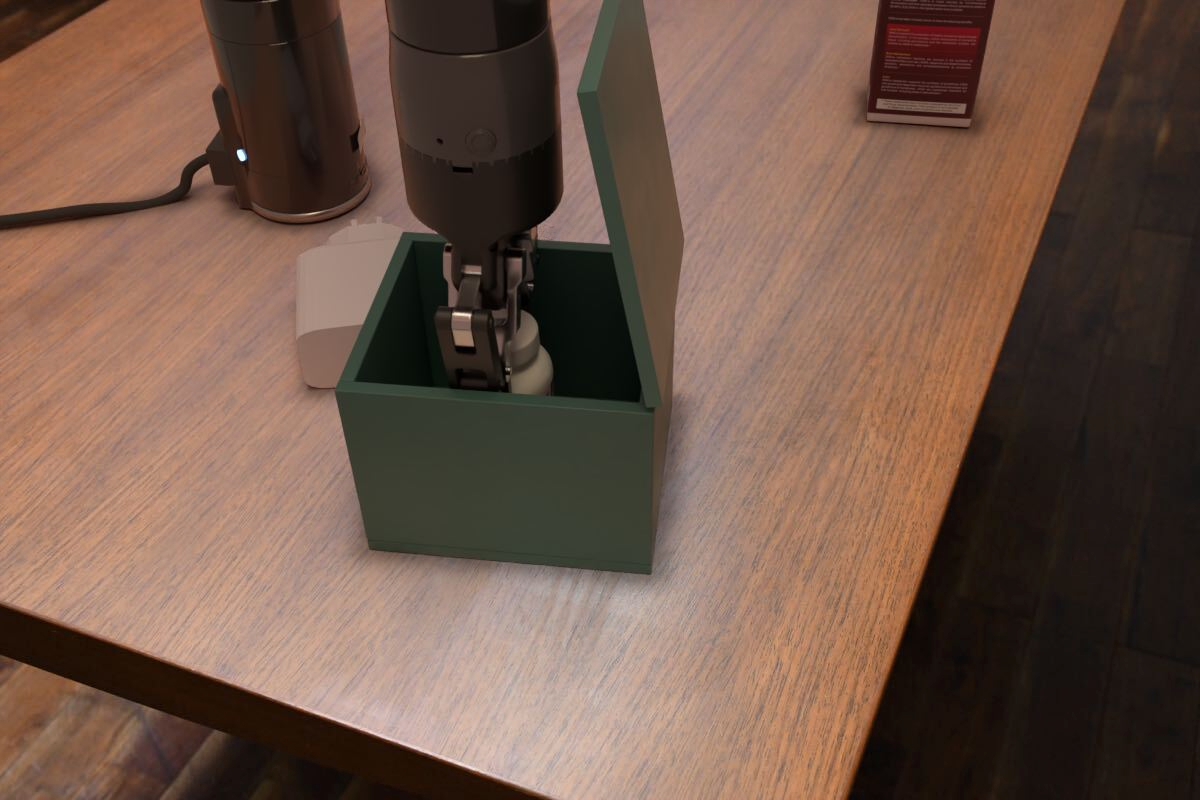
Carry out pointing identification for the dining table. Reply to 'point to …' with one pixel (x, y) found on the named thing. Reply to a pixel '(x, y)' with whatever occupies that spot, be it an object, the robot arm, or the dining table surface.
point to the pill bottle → (529, 359)
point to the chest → (506, 425)
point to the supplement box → (927, 60)
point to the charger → (338, 295)
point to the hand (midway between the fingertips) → (503, 387)
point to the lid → (634, 182)
